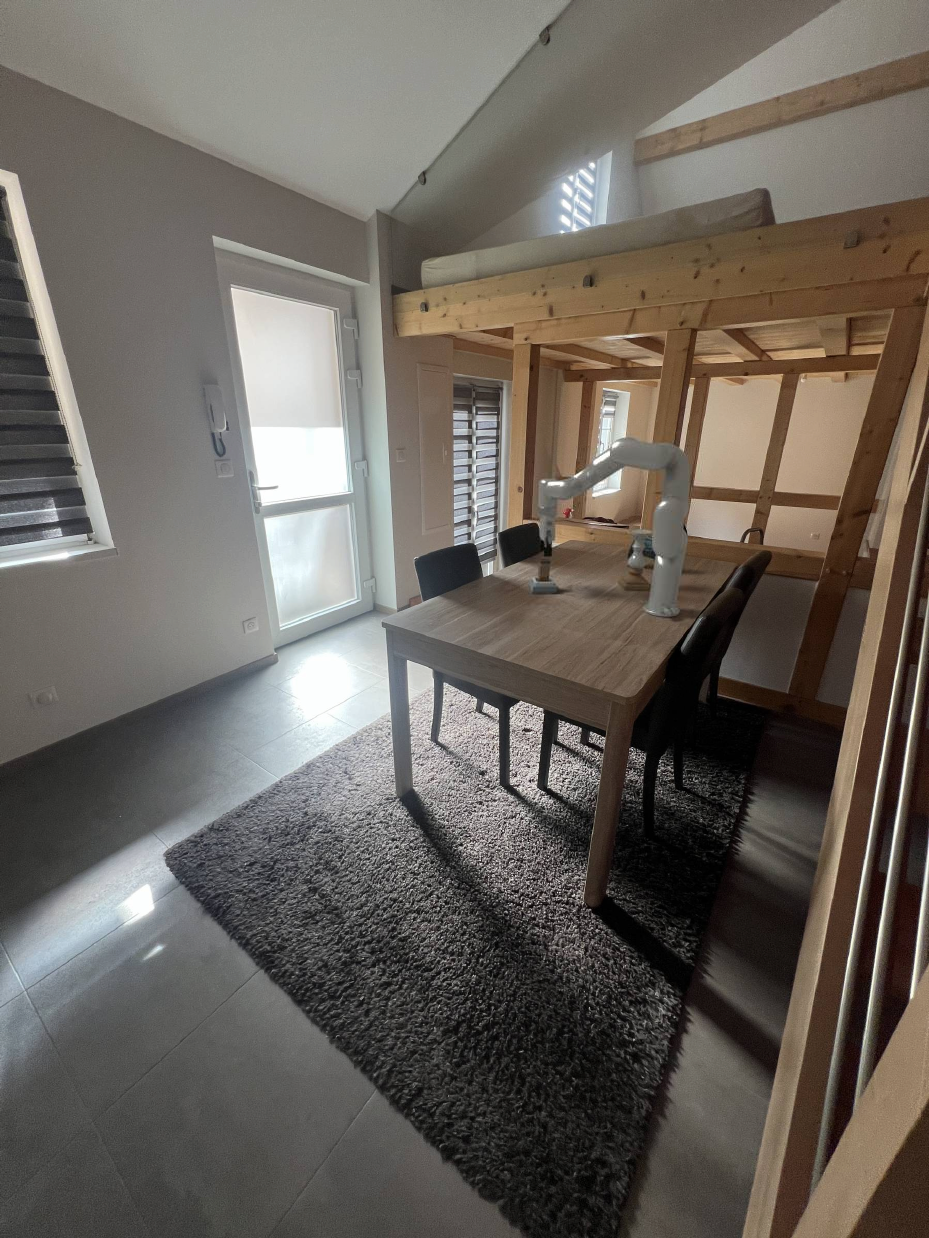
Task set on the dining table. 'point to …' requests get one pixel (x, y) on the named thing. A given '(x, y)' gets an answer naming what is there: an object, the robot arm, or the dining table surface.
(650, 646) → the dining table surface
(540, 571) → the brown tall boxy piece
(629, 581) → the candle holder
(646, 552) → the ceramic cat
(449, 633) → the dining table surface
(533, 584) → the candle tray
